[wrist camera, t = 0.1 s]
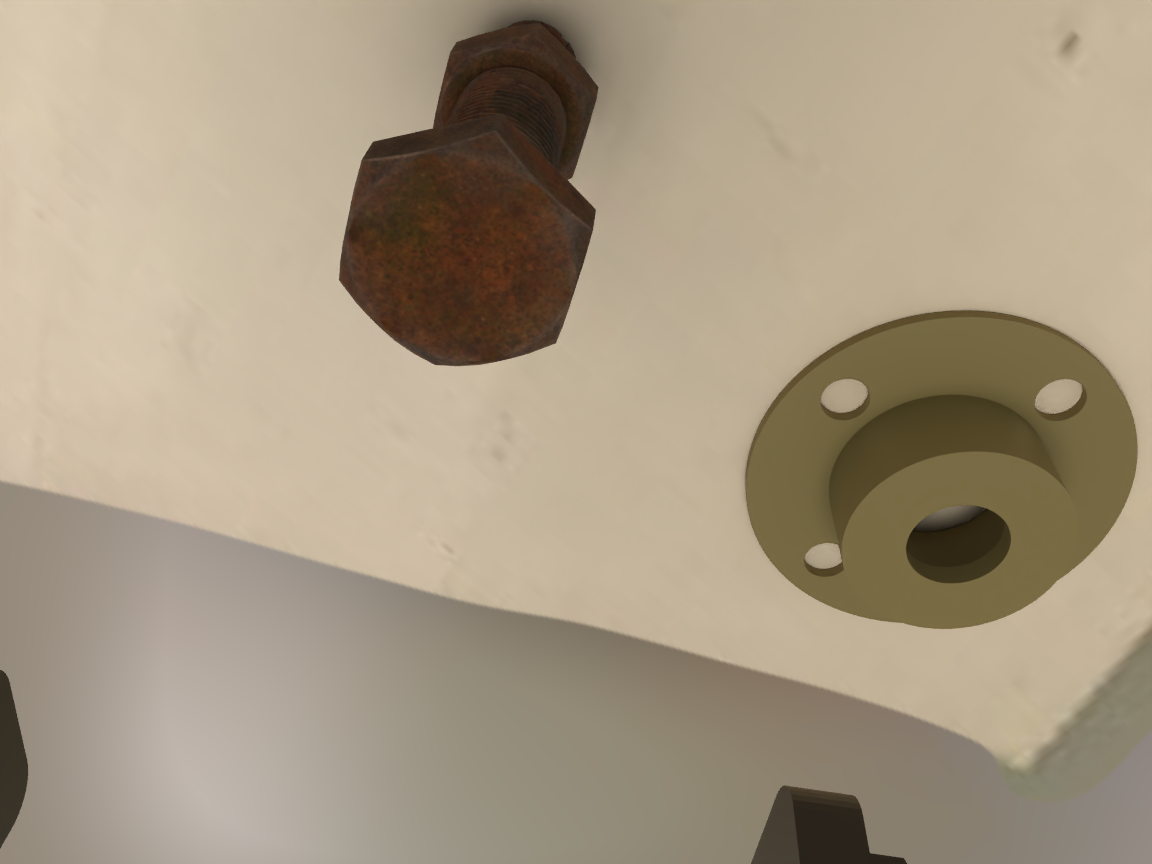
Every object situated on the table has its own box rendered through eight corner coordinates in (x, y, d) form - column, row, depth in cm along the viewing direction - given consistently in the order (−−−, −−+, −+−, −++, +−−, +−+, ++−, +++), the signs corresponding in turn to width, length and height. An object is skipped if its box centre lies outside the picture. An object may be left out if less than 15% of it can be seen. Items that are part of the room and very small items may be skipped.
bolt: (413, 54, 36) (282, 242, 23) (521, -59, 34) (439, 82, 21) (538, 180, 38) (477, 414, 25) (646, 81, 36) (638, 284, 23)
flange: (1257, 548, 39) (1010, 285, 34) (918, 739, 46) (669, 541, 41) (1204, 472, 43) (975, 225, 38) (898, 658, 50) (669, 469, 45)
